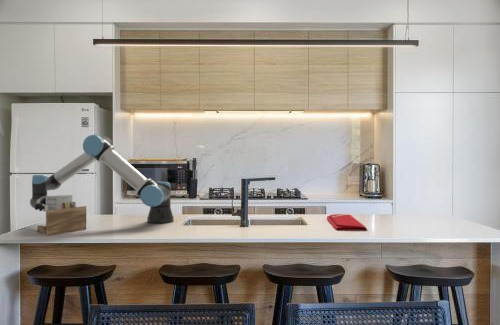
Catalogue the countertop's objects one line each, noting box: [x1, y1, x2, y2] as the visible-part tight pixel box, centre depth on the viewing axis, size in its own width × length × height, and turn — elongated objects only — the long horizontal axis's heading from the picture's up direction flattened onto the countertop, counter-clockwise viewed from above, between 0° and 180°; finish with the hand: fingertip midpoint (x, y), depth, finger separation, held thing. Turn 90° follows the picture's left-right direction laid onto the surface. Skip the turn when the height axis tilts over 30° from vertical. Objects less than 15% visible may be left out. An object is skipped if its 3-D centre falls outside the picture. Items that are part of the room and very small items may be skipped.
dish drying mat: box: [326, 213, 368, 232], centre depth 238 cm, size 16×41×4 cm, turn 177°
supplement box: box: [45, 194, 73, 226], centre depth 220 cm, size 10×9×17 cm
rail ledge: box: [37, 205, 87, 237], centre depth 217 cm, size 15×22×12 cm
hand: (61, 207), depth 217 cm, fingers open, 13 cm apart
